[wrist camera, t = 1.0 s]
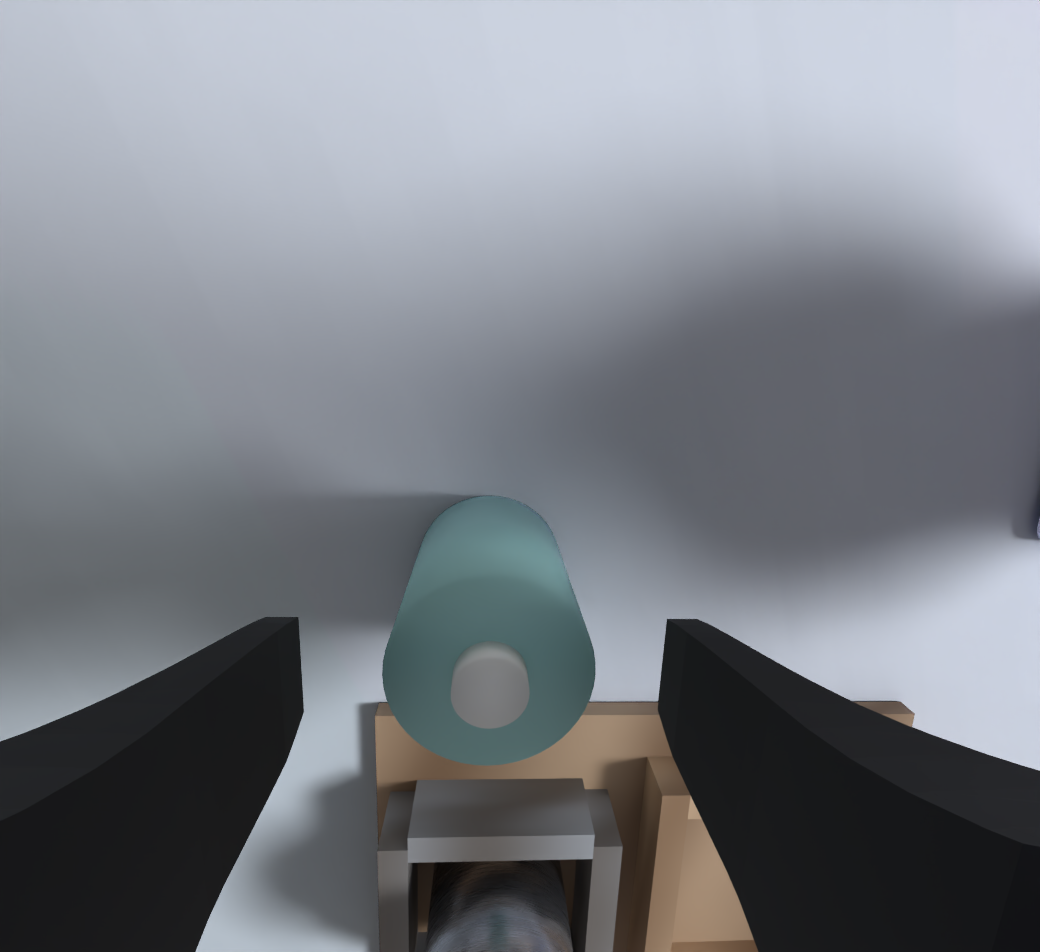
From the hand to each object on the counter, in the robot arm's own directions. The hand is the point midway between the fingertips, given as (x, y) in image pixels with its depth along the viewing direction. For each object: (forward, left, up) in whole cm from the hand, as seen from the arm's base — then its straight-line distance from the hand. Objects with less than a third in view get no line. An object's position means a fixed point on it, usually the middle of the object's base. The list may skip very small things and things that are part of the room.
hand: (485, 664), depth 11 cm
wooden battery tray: (-5, +10, -5) cm, 12 cm away
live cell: (0, 0, -5) cm, 5 cm away
